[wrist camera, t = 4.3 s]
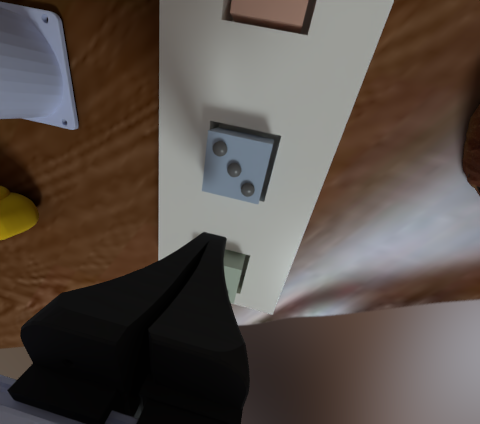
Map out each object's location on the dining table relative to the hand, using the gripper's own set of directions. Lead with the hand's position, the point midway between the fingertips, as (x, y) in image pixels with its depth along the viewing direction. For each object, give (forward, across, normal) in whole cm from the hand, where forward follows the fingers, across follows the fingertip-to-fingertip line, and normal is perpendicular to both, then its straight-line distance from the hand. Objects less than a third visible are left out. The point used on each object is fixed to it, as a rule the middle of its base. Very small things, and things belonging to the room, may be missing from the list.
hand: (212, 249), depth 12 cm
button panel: (+8, 0, -4) cm, 9 cm away
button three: (+6, 0, -4) cm, 7 cm away
